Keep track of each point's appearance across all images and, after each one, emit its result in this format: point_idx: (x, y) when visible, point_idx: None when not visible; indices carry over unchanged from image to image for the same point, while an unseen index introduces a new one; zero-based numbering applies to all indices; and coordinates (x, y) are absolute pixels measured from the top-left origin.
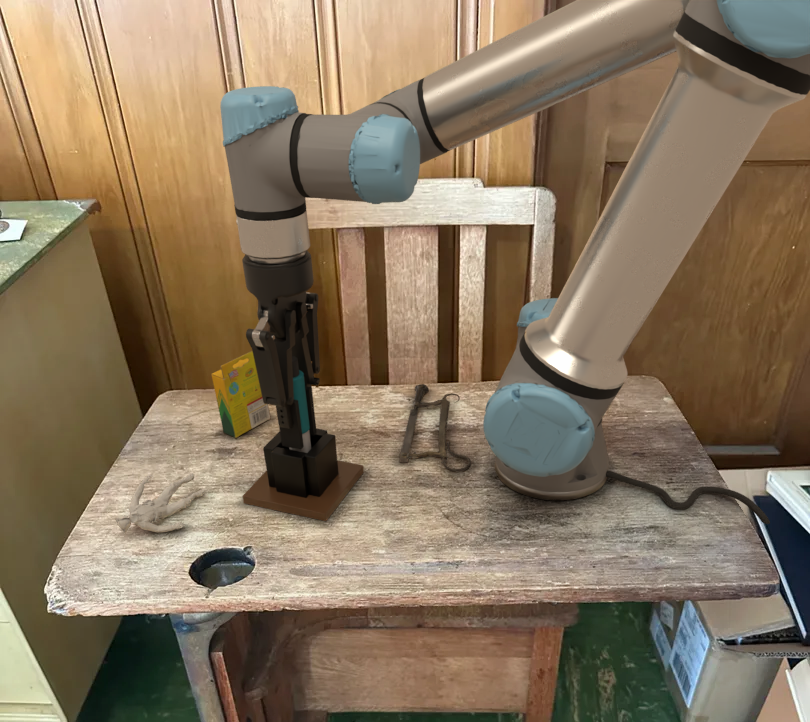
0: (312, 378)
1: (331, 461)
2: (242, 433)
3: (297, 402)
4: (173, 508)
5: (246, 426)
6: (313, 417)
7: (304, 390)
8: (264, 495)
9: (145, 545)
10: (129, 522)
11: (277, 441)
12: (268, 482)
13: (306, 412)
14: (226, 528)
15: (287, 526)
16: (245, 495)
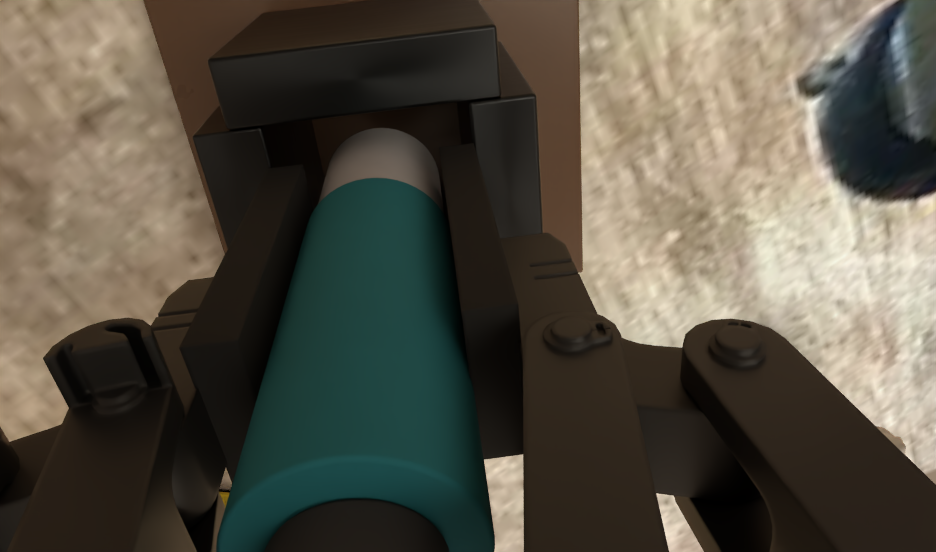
0: (114, 402)
1: (311, 22)
2: (225, 493)
3: (473, 301)
4: None
5: None
6: (266, 213)
7: (332, 344)
8: (551, 206)
9: (851, 362)
10: (898, 438)
11: None
12: None
13: (354, 237)
14: (721, 220)
15: (649, 27)
16: (577, 264)
